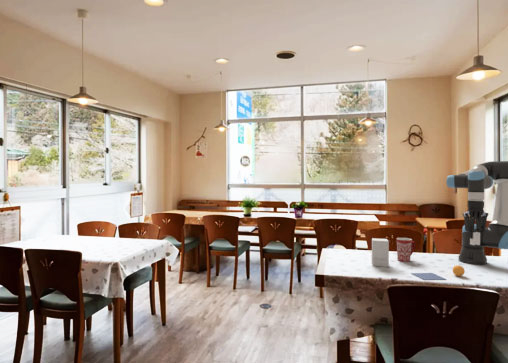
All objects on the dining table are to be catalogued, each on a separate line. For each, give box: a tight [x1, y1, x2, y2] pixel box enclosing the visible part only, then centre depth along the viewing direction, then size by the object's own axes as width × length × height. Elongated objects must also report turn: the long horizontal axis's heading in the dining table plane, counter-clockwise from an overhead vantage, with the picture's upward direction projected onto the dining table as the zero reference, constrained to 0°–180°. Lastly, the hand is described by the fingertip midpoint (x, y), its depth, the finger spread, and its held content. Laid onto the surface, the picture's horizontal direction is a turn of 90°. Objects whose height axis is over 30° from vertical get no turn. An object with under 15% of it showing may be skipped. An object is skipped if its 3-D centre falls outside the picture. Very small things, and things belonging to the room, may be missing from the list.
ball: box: [452, 265, 465, 277], centre depth 190 cm, size 6×6×6 cm
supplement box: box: [371, 237, 390, 268], centre depth 213 cm, size 9×9×15 cm
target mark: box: [410, 272, 447, 281], centre depth 189 cm, size 12×12×1 cm
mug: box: [396, 237, 416, 263], centre depth 225 cm, size 13×9×14 cm
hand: (474, 244), depth 191 cm, fingers open, 2 cm apart
